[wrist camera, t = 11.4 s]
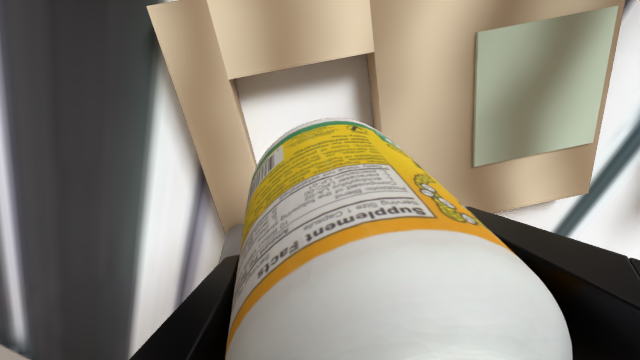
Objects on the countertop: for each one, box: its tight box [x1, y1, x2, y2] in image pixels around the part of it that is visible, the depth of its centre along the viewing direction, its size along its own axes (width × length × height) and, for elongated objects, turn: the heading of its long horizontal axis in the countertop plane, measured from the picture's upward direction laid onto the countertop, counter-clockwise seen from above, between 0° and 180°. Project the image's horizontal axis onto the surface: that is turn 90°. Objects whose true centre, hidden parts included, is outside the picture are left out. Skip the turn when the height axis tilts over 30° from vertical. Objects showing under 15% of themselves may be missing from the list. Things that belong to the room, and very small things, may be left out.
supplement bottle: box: [225, 118, 573, 360], centre depth 7 cm, size 5×5×10 cm
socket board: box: [147, 0, 625, 235], centre depth 18 cm, size 22×14×2 cm, turn 100°
